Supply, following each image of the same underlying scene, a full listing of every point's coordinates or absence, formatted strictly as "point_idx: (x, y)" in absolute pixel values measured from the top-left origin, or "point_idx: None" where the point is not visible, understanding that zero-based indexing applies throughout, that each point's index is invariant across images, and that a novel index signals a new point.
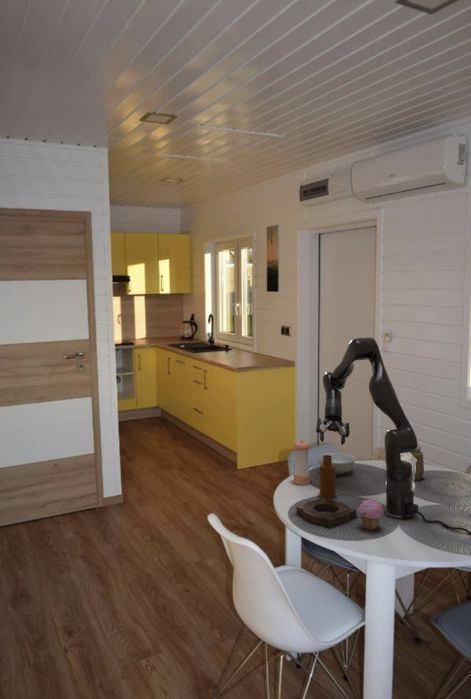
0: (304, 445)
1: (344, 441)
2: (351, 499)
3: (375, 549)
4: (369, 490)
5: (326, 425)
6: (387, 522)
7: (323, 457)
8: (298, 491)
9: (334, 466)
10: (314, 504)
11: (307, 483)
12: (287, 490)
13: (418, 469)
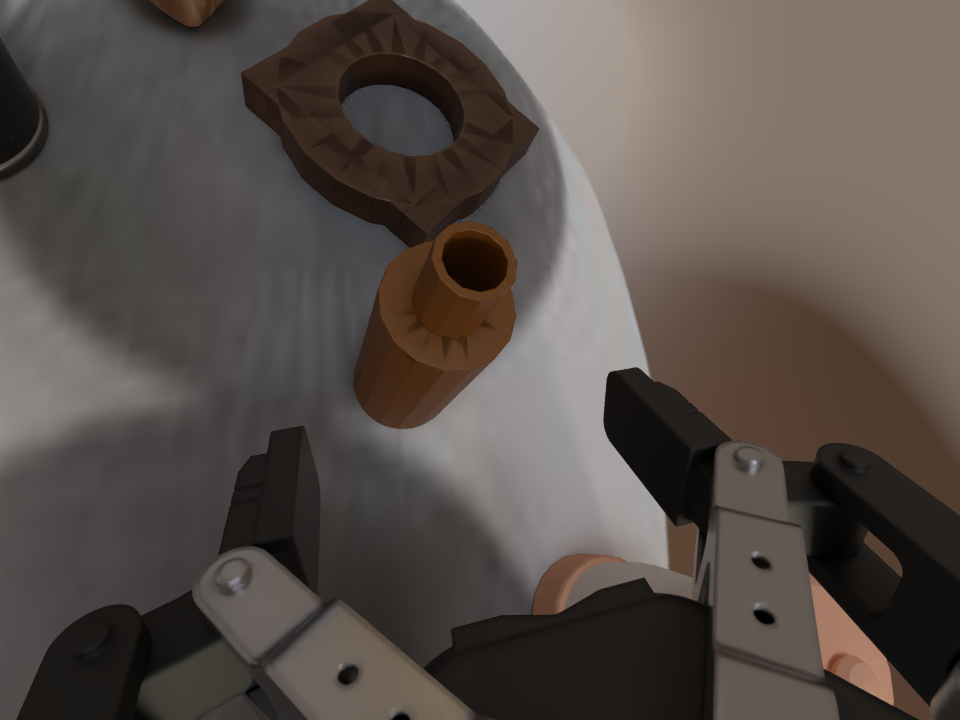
0: None
1: (252, 466)
2: (248, 336)
3: None
4: (71, 533)
5: (780, 560)
6: (73, 39)
7: (509, 257)
8: (570, 432)
9: (385, 282)
10: (463, 146)
11: (544, 576)
12: None
13: None
